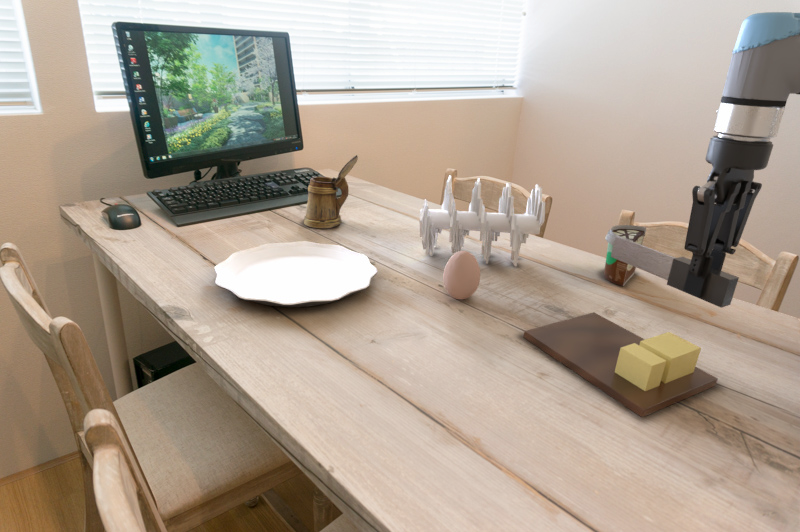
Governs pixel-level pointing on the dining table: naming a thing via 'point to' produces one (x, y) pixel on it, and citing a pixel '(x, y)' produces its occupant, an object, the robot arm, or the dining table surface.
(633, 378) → the butter slice
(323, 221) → the wooden mug
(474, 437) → the dining table surface
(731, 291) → the knife
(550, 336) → the cutting board
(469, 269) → the egg
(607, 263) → the food container
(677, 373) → the butter bar
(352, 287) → the plate
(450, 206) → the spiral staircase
